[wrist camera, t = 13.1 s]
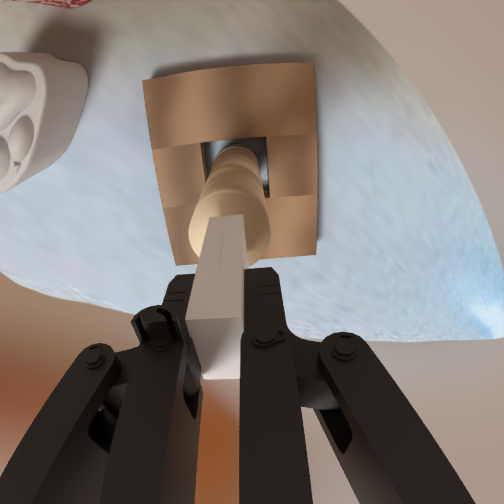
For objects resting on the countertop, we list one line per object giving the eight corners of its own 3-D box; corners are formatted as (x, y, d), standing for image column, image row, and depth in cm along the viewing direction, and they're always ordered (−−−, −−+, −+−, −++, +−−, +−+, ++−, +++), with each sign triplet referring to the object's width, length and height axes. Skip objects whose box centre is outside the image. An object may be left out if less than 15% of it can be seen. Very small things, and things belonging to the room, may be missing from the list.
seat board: (179, 255, 31) (175, 265, 29) (149, 81, 22) (142, 80, 20) (312, 244, 31) (316, 254, 29) (308, 65, 22) (313, 63, 20)
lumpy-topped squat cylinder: (100, 71, 21) (48, 70, 14) (59, 186, 27) (12, 221, 19) (31, 48, 18) (-24, 48, 11) (0, 154, 24) (-49, 179, 16)
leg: (217, 187, 28) (196, 273, 16) (212, 146, 26) (181, 201, 14) (260, 184, 28) (272, 267, 15) (256, 142, 25) (268, 193, 13)
